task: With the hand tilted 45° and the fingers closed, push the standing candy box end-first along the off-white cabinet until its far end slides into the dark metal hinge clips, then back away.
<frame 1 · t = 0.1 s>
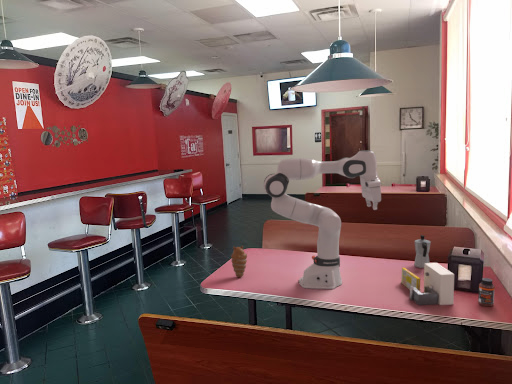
hand: (372, 208, 200), 39 cm above the table, tool pointing down, fingers open, 8 cm apart
brown ridged elongated piece: (239, 277, 218), on the table
candy box: (410, 289, 193), on the table
coffee maker: (422, 266, 224), on the table
cabinet: (438, 297, 181), on the table
supplement bottle: (485, 304, 172), on the table
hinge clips: (422, 300, 179), on the table
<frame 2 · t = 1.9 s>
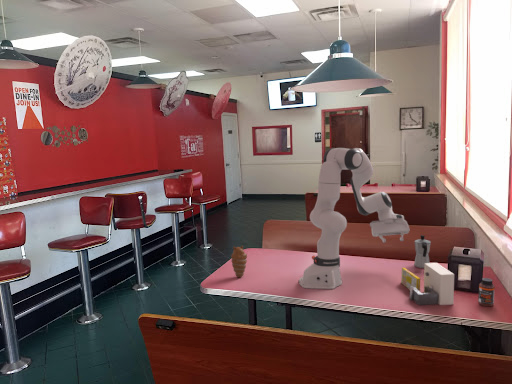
hand: (393, 241, 215), 17 cm above the table, tool tilted 45°, fingers open, 8 cm apart
nothing on the table moved.
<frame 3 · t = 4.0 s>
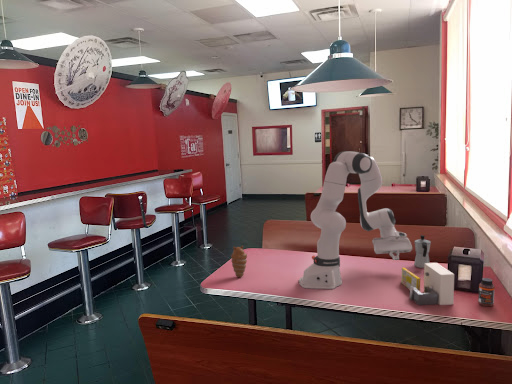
hand: (396, 259, 210), 9 cm above the table, tool tilted 45°, fingers closed
nothing on the table moved.
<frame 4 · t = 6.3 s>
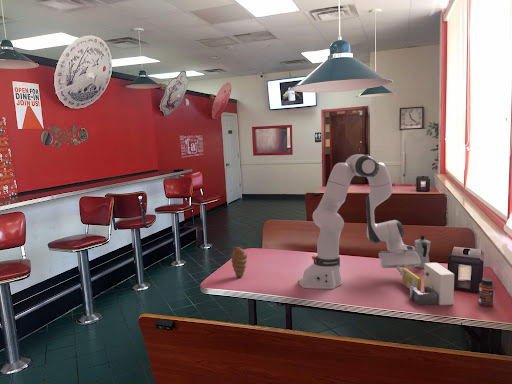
hand: (404, 274, 200), 4 cm above the table, tool tilted 45°, fingers closed, pressing on candy box
candy box: (410, 289, 192), on the table, touching gripper
everything else where it was.
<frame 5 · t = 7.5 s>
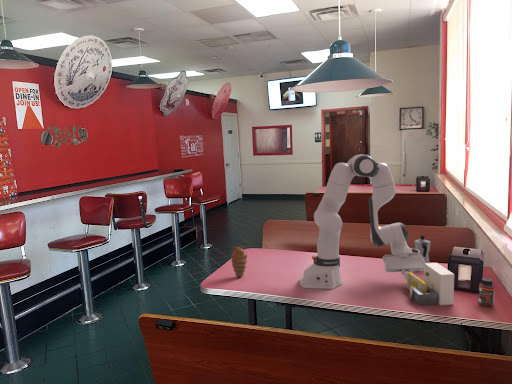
hand: (409, 278, 194), 4 cm above the table, tool tilted 45°, fingers closed, pressing on candy box
candy box: (416, 294, 186), on the table, touching gripper
everything else where it was.
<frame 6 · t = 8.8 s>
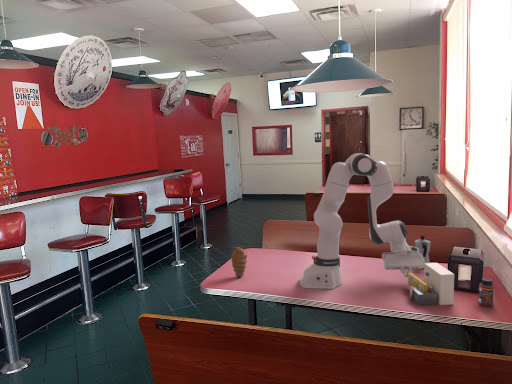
hand: (407, 276, 194), 5 cm above the table, tool tilted 45°, fingers closed
candy box: (416, 295, 185), on the table
everything else where it was.
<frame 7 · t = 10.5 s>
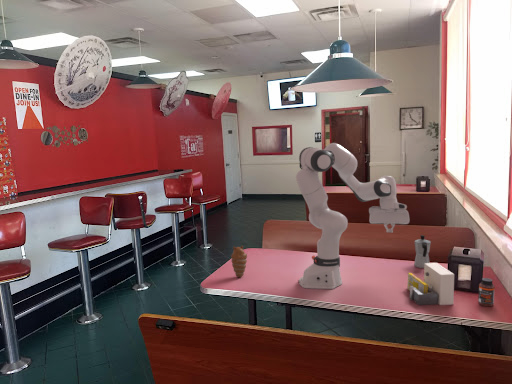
hand: (389, 232, 205), 25 cm above the table, tool tilted 20°, fingers closed
nothing on the table moved.
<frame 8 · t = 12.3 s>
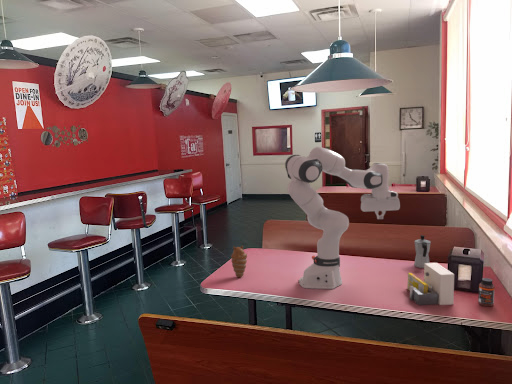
hand: (380, 218, 209), 31 cm above the table, tool pointing down, fingers closed
nothing on the table moved.
at the end: candy box 0.3 cm from the target spot, on the table; candy box tilted 0° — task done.
